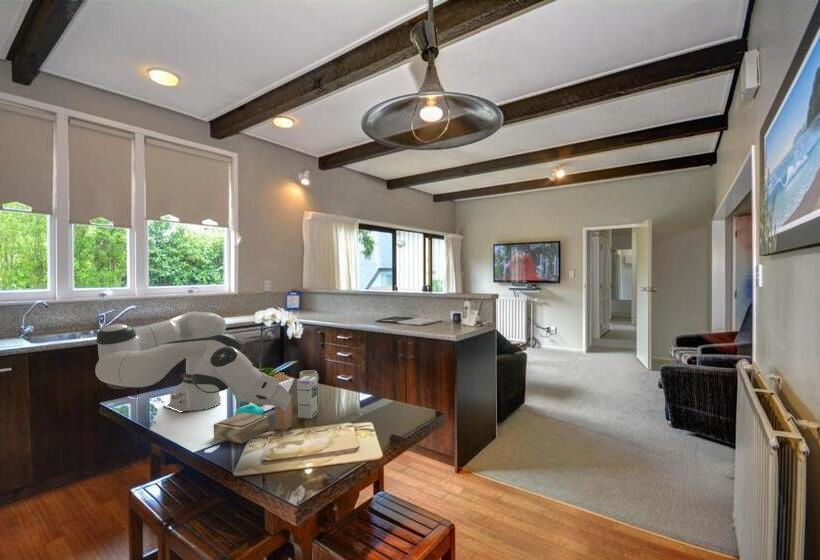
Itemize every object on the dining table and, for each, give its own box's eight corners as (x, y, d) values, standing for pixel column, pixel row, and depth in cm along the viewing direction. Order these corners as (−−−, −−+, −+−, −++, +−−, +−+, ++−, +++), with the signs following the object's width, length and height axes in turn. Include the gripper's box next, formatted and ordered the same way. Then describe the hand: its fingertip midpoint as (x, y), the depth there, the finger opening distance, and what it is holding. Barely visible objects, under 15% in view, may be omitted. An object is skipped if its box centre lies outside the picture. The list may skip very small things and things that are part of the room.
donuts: (268, 388, 149) (247, 395, 140) (268, 414, 149) (247, 422, 140) (250, 385, 153) (228, 392, 144) (250, 410, 153) (229, 418, 144)
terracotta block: (275, 429, 133) (274, 403, 133) (282, 425, 137) (282, 400, 137) (284, 430, 132) (284, 404, 132) (291, 426, 136) (291, 401, 136)
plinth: (213, 438, 126) (213, 423, 126) (241, 425, 137) (241, 411, 137) (242, 443, 122) (242, 427, 122) (268, 429, 133) (268, 415, 133)
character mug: (312, 397, 168) (312, 368, 168) (324, 400, 164) (323, 370, 164) (292, 404, 159) (292, 373, 159) (303, 407, 155) (303, 376, 155)
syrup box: (311, 418, 143) (311, 380, 143) (297, 417, 144) (297, 379, 144) (318, 413, 149) (318, 376, 149) (304, 412, 150) (304, 375, 150)
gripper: (220, 390, 121) (243, 411, 130) (272, 397, 114) (292, 419, 123) (231, 373, 125) (253, 394, 134) (282, 379, 118) (301, 401, 127)
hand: (272, 406), depth 129 cm, fingers open, 8 cm apart
